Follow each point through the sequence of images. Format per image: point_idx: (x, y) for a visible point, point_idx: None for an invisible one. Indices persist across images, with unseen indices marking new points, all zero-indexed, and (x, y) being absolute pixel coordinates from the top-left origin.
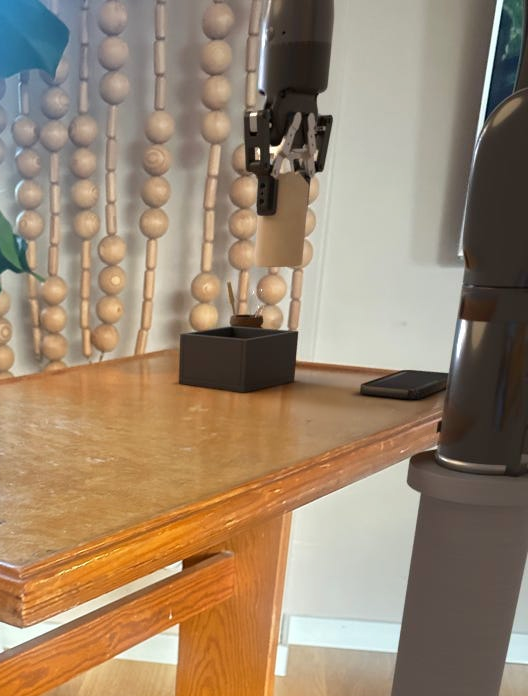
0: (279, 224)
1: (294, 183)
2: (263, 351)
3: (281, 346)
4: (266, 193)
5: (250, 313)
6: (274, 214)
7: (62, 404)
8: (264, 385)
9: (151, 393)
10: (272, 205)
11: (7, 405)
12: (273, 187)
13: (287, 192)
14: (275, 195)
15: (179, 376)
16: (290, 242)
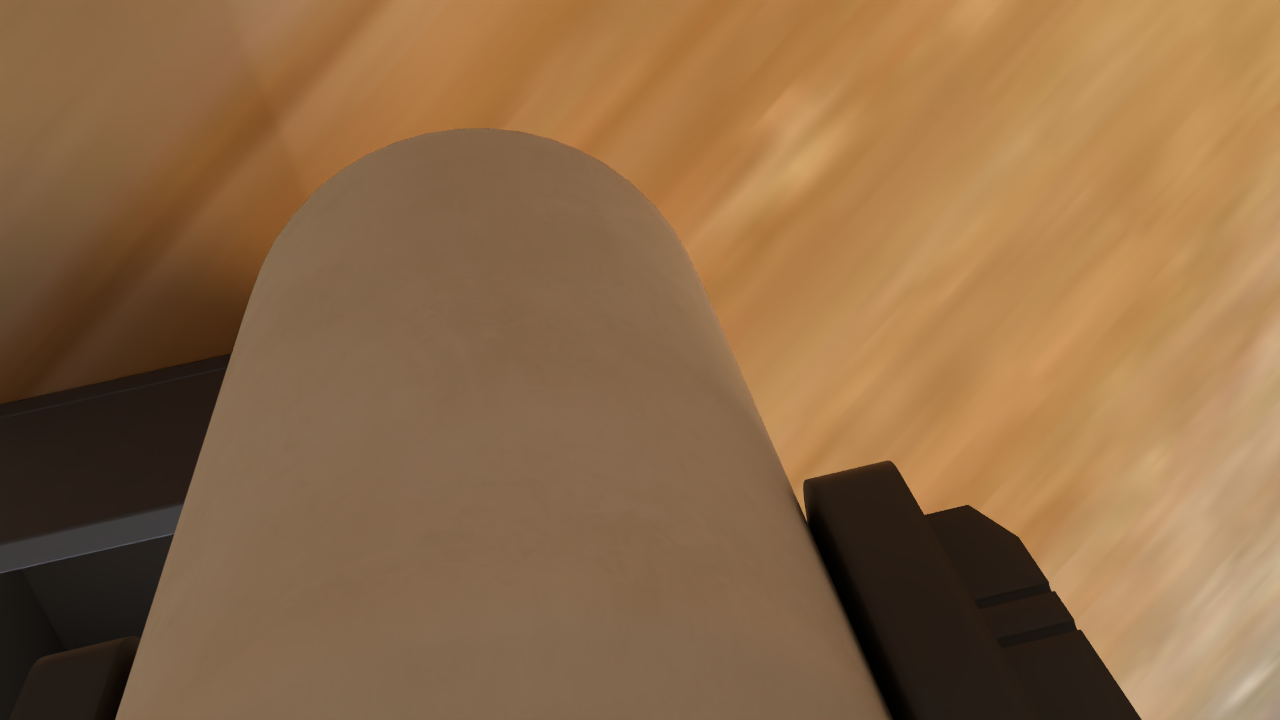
0: (723, 379)
1: (660, 677)
2: (184, 457)
3: (5, 504)
4: (1092, 655)
5: None
6: (810, 479)
7: (1103, 529)
8: (187, 368)
9: None
10: (920, 524)
11: (1239, 609)
12: (1028, 701)
13: (759, 589)
14: (925, 616)
15: None
16: (570, 213)
